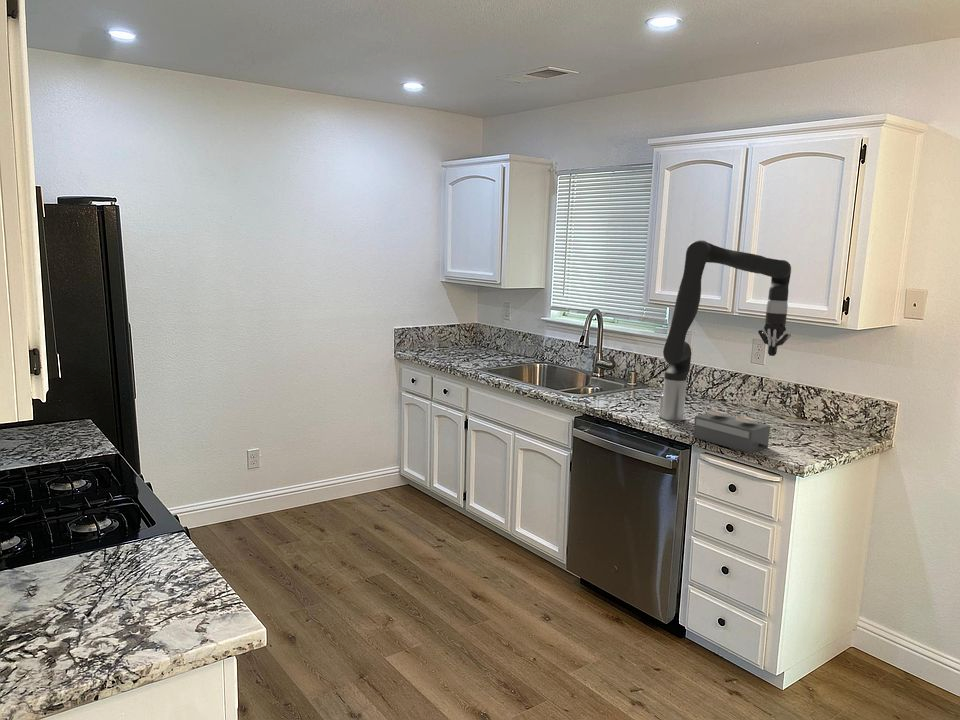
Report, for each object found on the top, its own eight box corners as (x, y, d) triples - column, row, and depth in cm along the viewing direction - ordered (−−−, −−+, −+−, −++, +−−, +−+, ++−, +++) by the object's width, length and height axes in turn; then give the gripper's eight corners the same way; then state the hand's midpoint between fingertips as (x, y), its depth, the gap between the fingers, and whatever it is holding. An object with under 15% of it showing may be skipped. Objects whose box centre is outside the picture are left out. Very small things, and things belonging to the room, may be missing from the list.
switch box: (692, 437, 276) (694, 416, 274) (711, 432, 284) (713, 411, 282) (756, 455, 255) (759, 432, 254) (775, 449, 263) (777, 427, 262)
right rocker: (735, 420, 264) (736, 416, 264) (745, 420, 269) (746, 417, 268) (747, 423, 260) (748, 419, 260) (757, 423, 265) (758, 420, 265)
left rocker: (707, 413, 273) (707, 409, 273) (717, 413, 278) (717, 410, 278) (718, 415, 269) (719, 412, 269) (728, 416, 274) (729, 413, 274)
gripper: (755, 310, 282) (751, 353, 285) (787, 314, 272) (782, 359, 275) (765, 309, 287) (761, 352, 290) (797, 313, 277) (792, 357, 280)
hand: (772, 355), depth 282 cm, fingers closed
